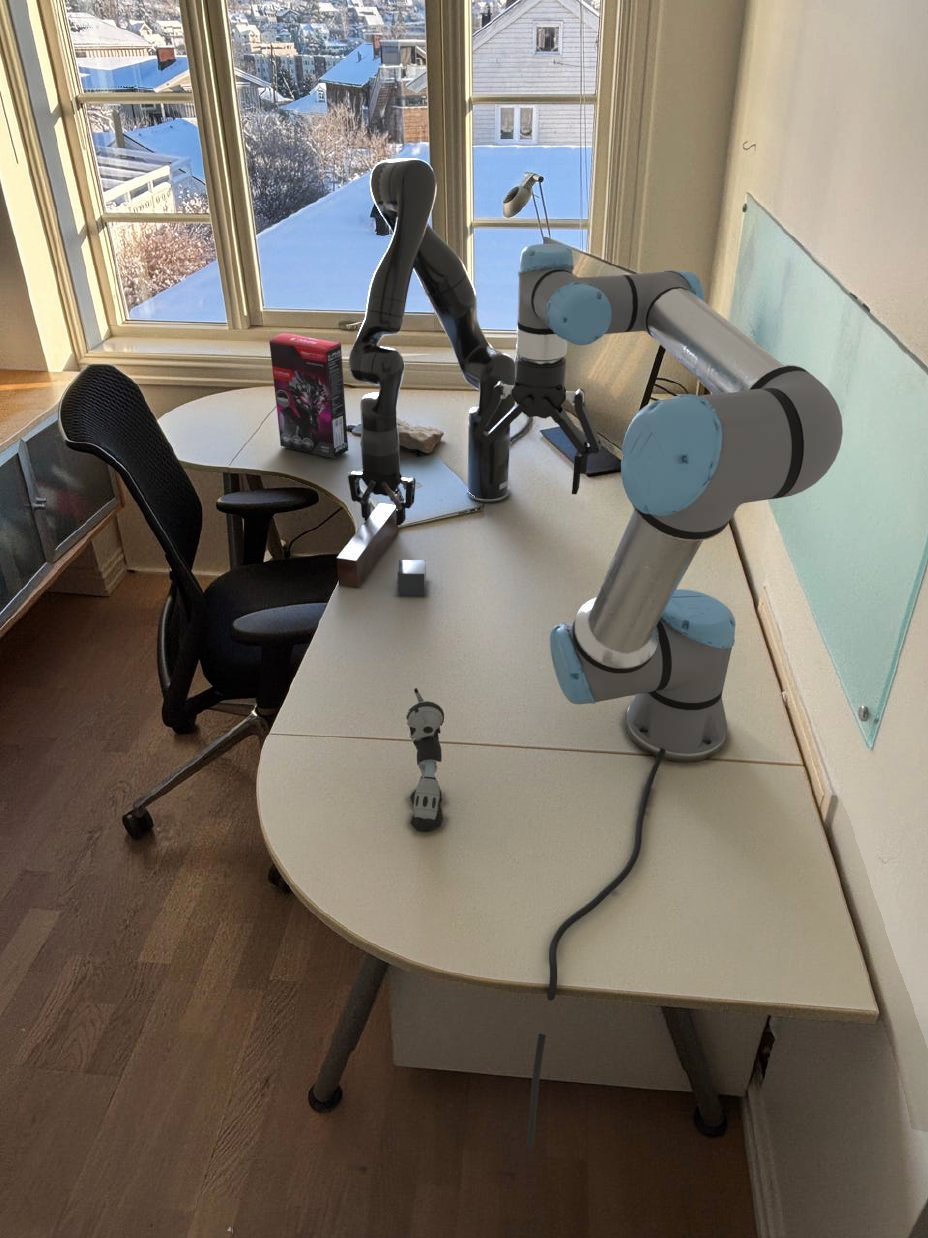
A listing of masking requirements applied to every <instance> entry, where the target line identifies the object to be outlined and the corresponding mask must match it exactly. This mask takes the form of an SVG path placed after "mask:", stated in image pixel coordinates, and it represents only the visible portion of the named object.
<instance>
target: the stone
mask: <svg viewBox="0 0 928 1238" xmlns="http://www.w3.org/2000/svg"><path fill="white" fill-rule="evenodd" d="M397 427H398V433H399V447H404V448H406V449H410V450H416V451H417V450H418V451H420V452H422V453H426V454H431V453H432V452H433V451H434V449H435V446H436V445H437V444H438V443H439V442H440V441H441V440H442V438H443V437H444V432H443V431H442V430H439V429H438V428H434V427H431V426H422V425H417V424H409V423H408V422H406V421H404V420H400V419H399V417H397Z"/></svg>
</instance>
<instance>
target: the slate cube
mask: <svg viewBox="0 0 928 1238" xmlns="http://www.w3.org/2000/svg"><path fill="white" fill-rule="evenodd" d="M426 567H427V565H426V559H399V561H398V568H397V591H398V597H426V585H427V568H426Z"/></svg>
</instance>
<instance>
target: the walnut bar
mask: <svg viewBox="0 0 928 1238" xmlns="http://www.w3.org/2000/svg"><path fill="white" fill-rule="evenodd" d="M396 509H397V508H396V506H395V504H388V503H382V502H379V503H378V504H377V506H376V507H375V508H374V509H373V511H371V515H370V516H369V517H368V519H367V520H366V521H365V520H364V522H363V523H362V525H361V526H360V527H359V528H358V530H357V531H356V532H355V534H354V535H353V536H352V537H351V539H350V540H348V543H347V544H346V545H345V546H344V548H343V549H342V550H341V552H340V553H339V554H338V556H336V567H337V569H336V570H337V580H338V585H339V586H344V587H345V586H346V587H352V588H357V589H358V588H359V587H360V586H361V584H362V583H363V581H364V580H365V578H366V577H367V576H368V574H369V573H370V571H371V570H372V569H373V567H374V566H375V564H377V562H378V561H379V559H380V557H382V554H383V553H384V552H385V550H386V548H387V547H388V546H389V544H391V542H392V540H393V539H394V537H395V536H396V535H397V533H398V532H399V525H397V522H396Z"/></svg>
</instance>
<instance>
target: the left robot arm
mask: <svg viewBox="0 0 928 1238" xmlns="http://www.w3.org/2000/svg"><path fill="white" fill-rule="evenodd" d="M369 186H370V192H371V197H372V199H373V202H374V204H375V206H376V207H377V209H378V211H379V213H380V215H381V216H382V217H383V220H384V221H385V222H386V224H387V226H388V227H389V228H390V230H391V231H392V233H393V235H392V237H391V240H390V243H389V245H388V248H386V249H387V250H386V252H385V253H384V255H383V257H382V258H381V260H380V262H379V264H378V266H377V268H376V270H375V271H374V273H373V277H372V279H371V282H370V285H369V290H368V295H367V302H366V311H365V315H364V316H365V317H364V320H363V322H362V324H361V327H360V329H359V332H358V334H357V336H356V338H355V341H354V343H353V345H352V348H351V349H350V352H349V357H348V369H349V372H350V375H351V376H352V378H353V379H354V380H356V381H358V382H361V383H366V384H371V385H376V386H378V387H379V391H378V392H371V393H367V394H365V395H363V397H362V398H361V400H360V405H359V407H360V408H359V409H360V424H361V426H360V430H361V431H360V448H361V449H360V450H361V465H362V471H357V470H356V469H353V470H352V471H350V473H349V474H348V476H347V480H348V486H349V492H350V498H351V501H352V502H358V503H359V504H360V507H361V508H360V509H361V518H362V519H363V520H364V522H365V521H366V520H367V519H368V517H369V516H370V515H371V513H372V508H371V505H372V504H371V501H370V499H371V497H372V495H376V496H377V495H378V496H379V495H381V496H384V497H388V498H389V499H390V502H392V503H393V505H395V506H396V508H397V509H396V522H397V525H398V527H400V526H402V524H404V523H405V521H406V519H407V518H406V517H407V516H406V509H407V510H409V509H410V508H411V507H412V506H413V505H414V503H415V496H416V484H417V483H416V481H417V479H416V478H415V477H413V476H412V477H410V478H407V477H404V476H403V475H402V473H401V457H400V455H401V453H400V445H399V433H398V427H397V418H398V407H397V406H398V402H399V396H400V393H401V387H402V383H403V379H404V375H405V369H406V367H405V366H406V365H405V360H404V357H403V355H402V353H400V352H399V351H398V350H397V349H395V348H392V347H391V348H390V347H387V346H379V344H380V341H381V340H382V339H383V338H384V337H385V336H394V335H398V334H399V333H400V332H401V330H402V327H403V323H404V316H405V312H406V311H405V310H406V306H407V298H408V293H409V288H410V283H411V279H412V274H413V271H414V273H415V275H416V277H417V279H418V281H419V283H420V287H421V288H422V290H423V292H424V295H425V297H426V298H427V300H428V302H429V304H430V306H431V308H432V309H433V311H434V313H435V315H436V317H437V319H438V321H439V323H440V325H441V327H442V329H443V330H444V332H445V335H446V336H447V338H448V340H449V342H450V344H451V347H452V349H453V351H454V354H455V358H456V360H457V363H458V366H459V369H460V371H461V374H462V376H463V378H464V380H465V382H466V383H467V384H469V386H471V387H472V388H474V389H476V390H477V391H479V400H478V404H476V405H474V406H471V408H470V409H469V411H468V421H467V423H468V424H467V425H468V427H467V428H468V429H467V430H468V432H467V433H468V434H467V436H468V437H467V489H466V495H467V496H468V497H469V498H470V499H472V500H474V501H476V502H481V503H496V502H500V501H503V500H505V499H507V497H509V475H510V473H509V471H510V450H511V449H510V445H511V442H512V441H514V440H515V439H516V438H519V437H520V436H521V435H522V434H524V432H525V431H526V430H527V429H528V427H529V426H530V424H531V419H532V417H527V419H526V423H525V425H524V426H523V427H522V428H521V429H520V430H519V431H517V432H516V433H515V434H514V435H512V436H511V423H510V424H509V425H508V426H507V427H506V428H505V429H504V430H503V431H502V432H501V433H500V434H499V435H498V436H497V437H496V438H495V439H494V440H499V441H498V474H497V479H496V481H495V482H494V484H489V464H490V463H487V462H484V444H483V442H482V441H480V440H474V439H473V437H472V435H473V433H474V431H475V430H476V428H477V426H478V424H479V422H480V421H481V419H482V417H483V415H484V413H485V412H486V410H487V408H488V406H489V404H490V403H491V401H492V399H493V392H494V387H495V386H496V385H497V383H498V382H499V381H503V382H504V383H505V384H506V385H511V386H514V384H515V368H516V360H514V358H513V357H512V356H510V355H509V354H507V353H506V352H503V351H501V350H499V349H497V348H495V347H493V346H492V345H491V344H490V342H489V341H488V339H487V337H486V336H485V334H484V332H483V330H482V327H481V326H480V323H479V321H478V315H477V314H478V311H477V310H478V309H477V308H478V307H477V306H478V305H477V304H478V303H477V293H476V289H475V286H474V284H473V282H472V279H471V277H470V275H469V273H468V271H467V268H466V266H465V264H464V262H463V261H462V259H461V258H460V257H459V255H458V254H457V253H456V252H455V250H454V249H453V248H451V246H450V245H449V244H448V243H447V242H446V241H445V240H443V238H441V236H440V235H439V234H437V232H436V231H435V230H434V229H433V228H432V226H431V225H430V224H429V220H430V217H431V215H432V212H433V208H434V204H435V200H436V197H437V186H438V185H437V178H436V174H435V171H434V170H433V168H432V166H431V165H430V164H429V163H428V162H427V161H425V160H423V159H420V158H394V159H386V160H385V159H384V160H381V161H380V162H377V164H375V166H374V167H373V169H372V171H371V174H370V179H369ZM515 405H516V401H515V400H514V398H513V397H512V395H511V394H508V395H507V397H506V398H505V399H502V400H501V402H500V404H499V405H498V407H497V409H496V411H495V412H494V414H493V416H492V418H491V419H490V421H489V423H488V425H487V427H486V428H485V430H484V431H486V432H490V431H491V430H492V429H493V428H494V427H495V425H496V424H497V423H498V422H499V421H500V420H501V419H502V418H503V417H504V416H505V415H506V414H507V413H508V412H509V411H510V410H511V409H512V408H513V407H514V406H515ZM494 440H493V441H494ZM361 481H363V483H364V484H365V486H366V489H365V490H364V493H362V491H361V485H360V482H361ZM400 485H402V487H403V490H405V497H404V495H403V492H402V489H401V488H400ZM468 491H469V492H470V493H471V494H472V495H474V496H475V497H474V496H472V495H471V494H469V492H468Z"/></svg>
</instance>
